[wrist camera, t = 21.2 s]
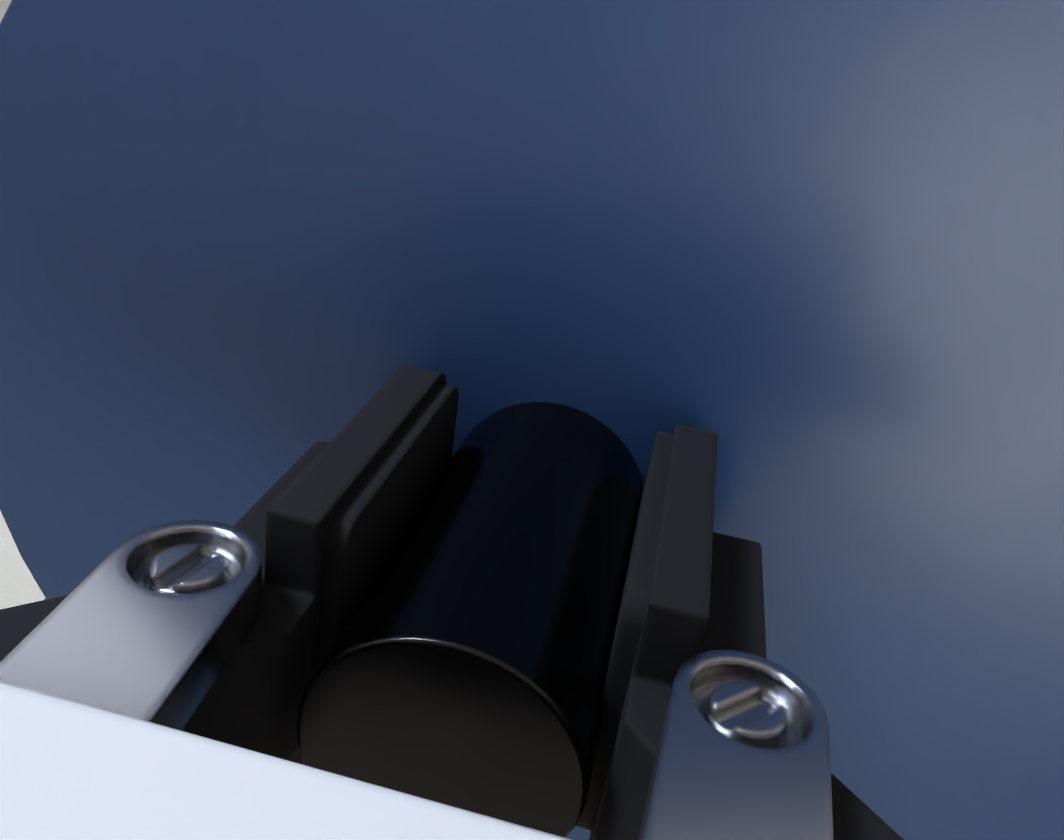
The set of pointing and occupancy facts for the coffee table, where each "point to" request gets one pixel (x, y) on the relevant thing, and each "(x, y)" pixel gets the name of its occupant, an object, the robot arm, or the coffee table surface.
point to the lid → (572, 350)
